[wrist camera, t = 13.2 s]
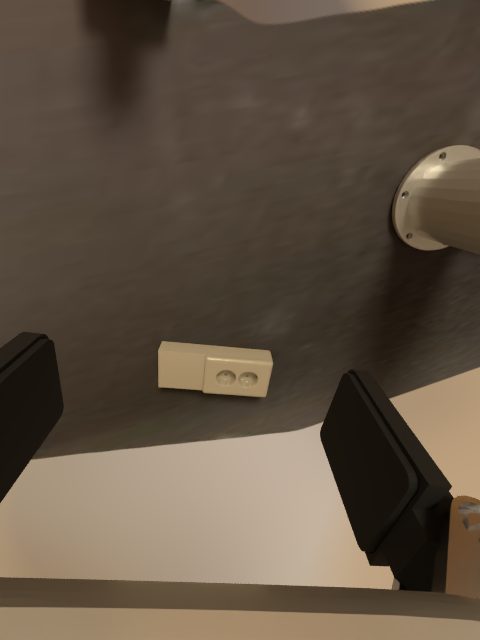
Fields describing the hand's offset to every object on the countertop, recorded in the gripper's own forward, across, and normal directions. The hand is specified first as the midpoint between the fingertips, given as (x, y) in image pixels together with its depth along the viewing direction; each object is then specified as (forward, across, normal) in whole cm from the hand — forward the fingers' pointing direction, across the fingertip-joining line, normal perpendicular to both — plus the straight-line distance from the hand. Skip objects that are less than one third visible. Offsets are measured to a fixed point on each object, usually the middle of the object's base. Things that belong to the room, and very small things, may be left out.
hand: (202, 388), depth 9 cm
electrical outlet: (+33, -2, +22) cm, 40 cm away
